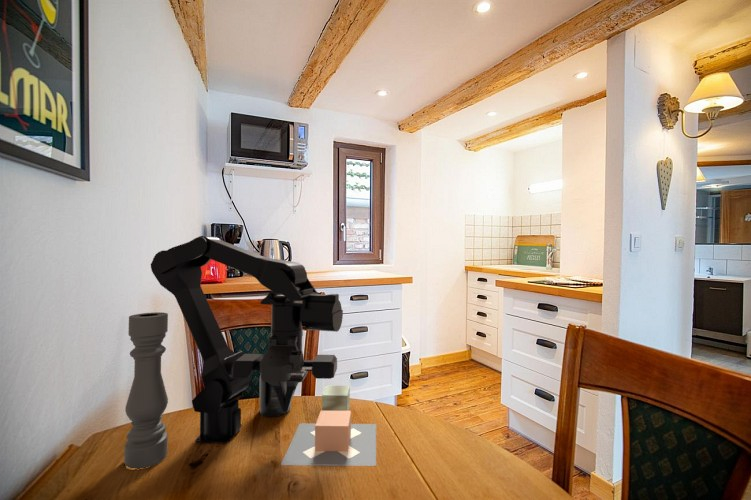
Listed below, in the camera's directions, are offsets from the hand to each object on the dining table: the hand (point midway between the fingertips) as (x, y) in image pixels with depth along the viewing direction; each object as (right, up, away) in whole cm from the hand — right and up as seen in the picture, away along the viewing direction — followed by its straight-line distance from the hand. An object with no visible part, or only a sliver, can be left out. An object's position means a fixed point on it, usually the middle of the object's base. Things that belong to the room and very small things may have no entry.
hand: (285, 411), depth 63 cm
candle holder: (-23, -6, -5) cm, 24 cm away
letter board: (+9, -6, 0) cm, 11 cm away
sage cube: (+8, -7, +12) cm, 16 cm away
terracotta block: (+9, -6, 0) cm, 11 cm away
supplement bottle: (-6, -7, +13) cm, 16 cm away
